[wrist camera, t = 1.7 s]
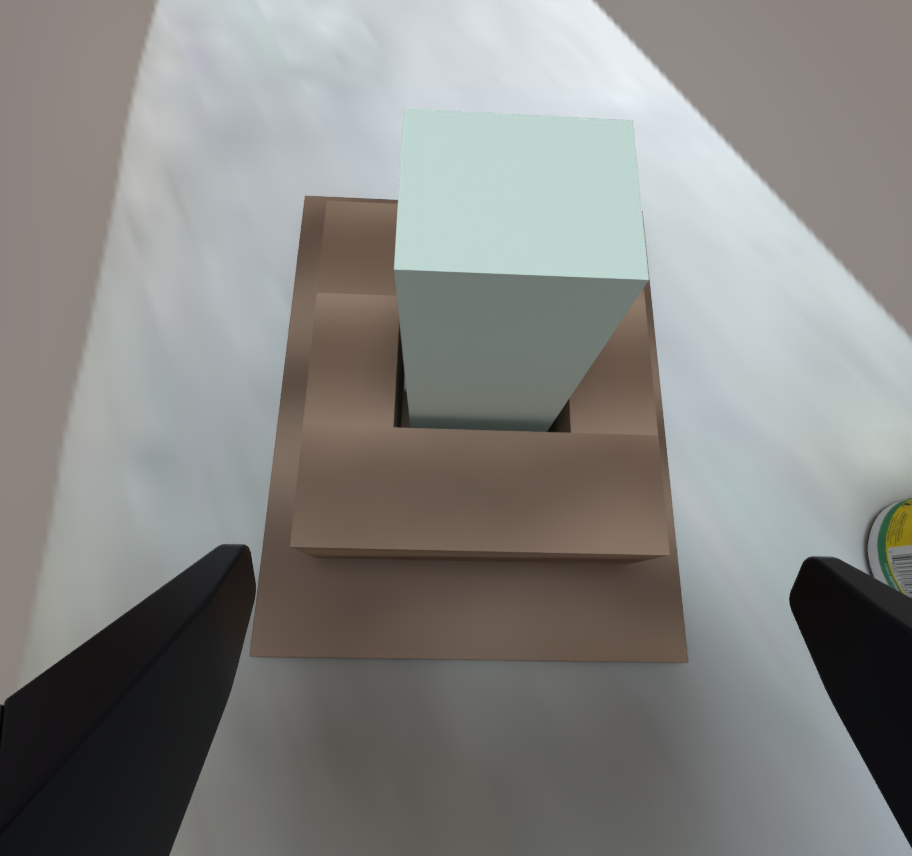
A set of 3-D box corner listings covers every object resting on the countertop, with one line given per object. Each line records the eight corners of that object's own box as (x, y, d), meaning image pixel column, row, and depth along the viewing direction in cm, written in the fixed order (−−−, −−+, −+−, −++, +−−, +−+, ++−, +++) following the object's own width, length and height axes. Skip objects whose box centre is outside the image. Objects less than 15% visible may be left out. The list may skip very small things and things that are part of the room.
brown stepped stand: (681, 661, 21) (746, 675, 17) (254, 654, 21) (207, 667, 16) (637, 219, 27) (677, 145, 23) (307, 204, 27) (284, 125, 22)
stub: (535, 448, 23) (649, 280, 11) (408, 445, 23) (386, 268, 11) (532, 356, 24) (632, 115, 12) (412, 352, 24) (397, 103, 12)
